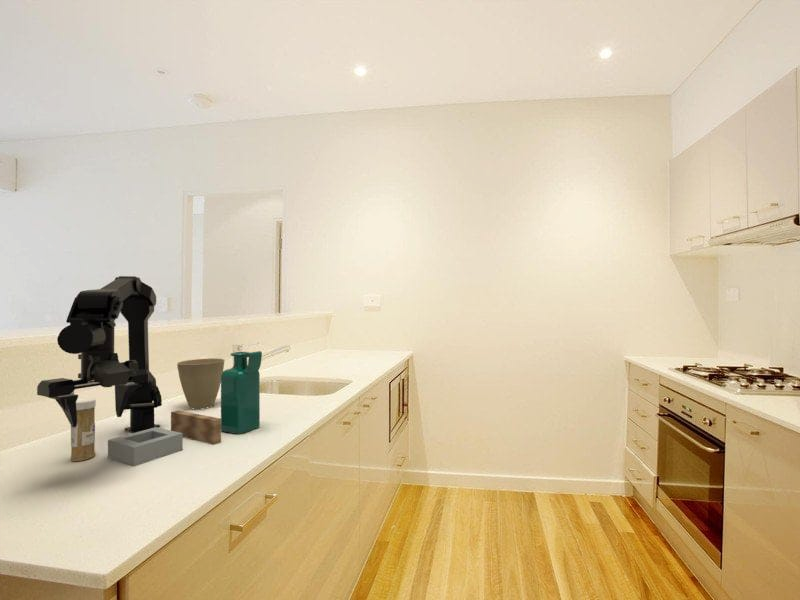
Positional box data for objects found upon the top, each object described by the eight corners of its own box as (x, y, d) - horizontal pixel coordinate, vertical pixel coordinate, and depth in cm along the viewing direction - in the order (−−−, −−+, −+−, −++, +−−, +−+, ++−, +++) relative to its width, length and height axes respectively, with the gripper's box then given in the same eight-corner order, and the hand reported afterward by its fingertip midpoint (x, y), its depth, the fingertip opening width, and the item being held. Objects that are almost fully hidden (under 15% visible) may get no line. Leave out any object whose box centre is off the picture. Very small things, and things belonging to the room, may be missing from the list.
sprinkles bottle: (94, 459, 91) (94, 400, 91) (68, 463, 88) (68, 403, 88) (96, 453, 95) (96, 396, 95) (71, 457, 92) (71, 399, 92)
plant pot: (194, 401, 146) (194, 358, 147) (232, 402, 145) (232, 358, 145) (166, 412, 132) (166, 364, 132) (209, 413, 130) (209, 364, 130)
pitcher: (217, 431, 110) (217, 352, 111) (240, 423, 118) (240, 349, 119) (244, 435, 107) (244, 353, 107) (266, 426, 114) (266, 350, 115)
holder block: (107, 457, 92) (107, 439, 92) (156, 442, 102) (156, 427, 102) (134, 465, 87) (134, 447, 87) (182, 449, 96) (182, 433, 96)
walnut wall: (170, 434, 108) (170, 412, 109) (178, 432, 110) (178, 410, 110) (213, 444, 100) (213, 420, 100) (220, 442, 102) (220, 418, 102)
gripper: (63, 355, 74) (62, 440, 73) (163, 346, 90) (163, 415, 90) (36, 352, 79) (35, 431, 78) (135, 344, 95) (135, 410, 95)
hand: (97, 421), depth 85 cm, fingers open, 8 cm apart
